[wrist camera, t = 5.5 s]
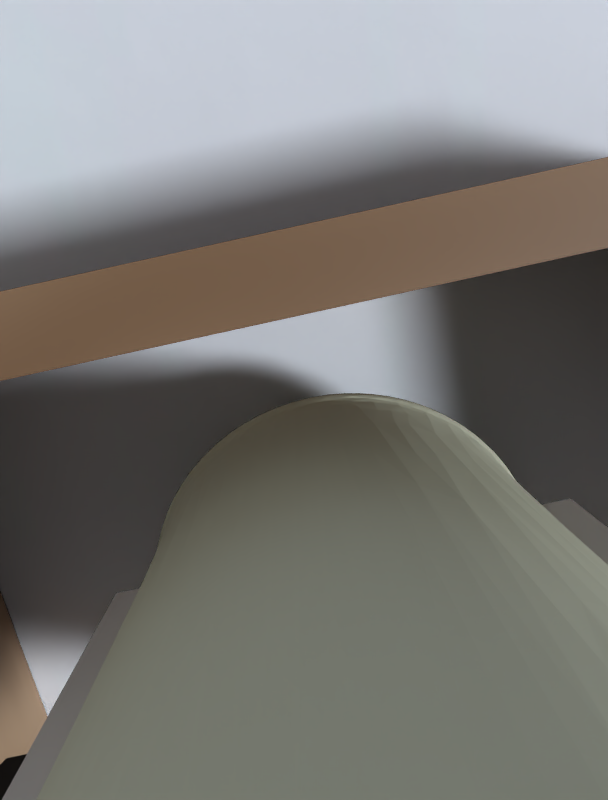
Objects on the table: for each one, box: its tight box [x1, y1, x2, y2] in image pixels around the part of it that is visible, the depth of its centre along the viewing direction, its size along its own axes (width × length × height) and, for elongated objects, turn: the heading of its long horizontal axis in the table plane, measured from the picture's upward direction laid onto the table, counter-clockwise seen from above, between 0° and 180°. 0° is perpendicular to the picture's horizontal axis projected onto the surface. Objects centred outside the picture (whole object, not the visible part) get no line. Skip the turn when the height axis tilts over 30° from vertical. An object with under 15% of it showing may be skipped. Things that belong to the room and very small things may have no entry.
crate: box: [0, 157, 608, 764], centre depth 12 cm, size 16×22×7 cm
